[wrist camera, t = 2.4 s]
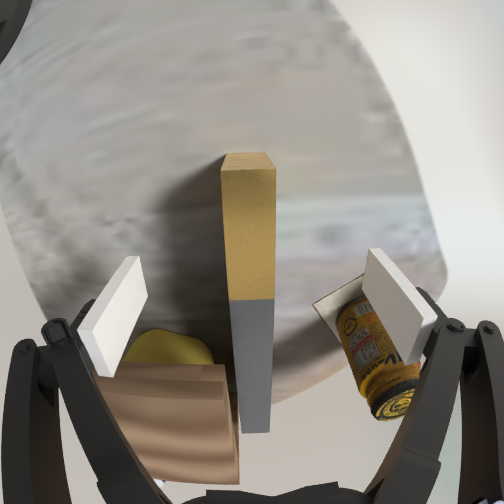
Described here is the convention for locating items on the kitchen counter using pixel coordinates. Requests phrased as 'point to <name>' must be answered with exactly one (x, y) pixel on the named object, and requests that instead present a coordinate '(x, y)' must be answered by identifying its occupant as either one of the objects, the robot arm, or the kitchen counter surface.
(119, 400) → the small brown wooden table
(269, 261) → the two-tone wooden bar
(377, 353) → the condiment
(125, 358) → the flower pot
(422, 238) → the kitchen counter surface
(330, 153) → the kitchen counter surface
